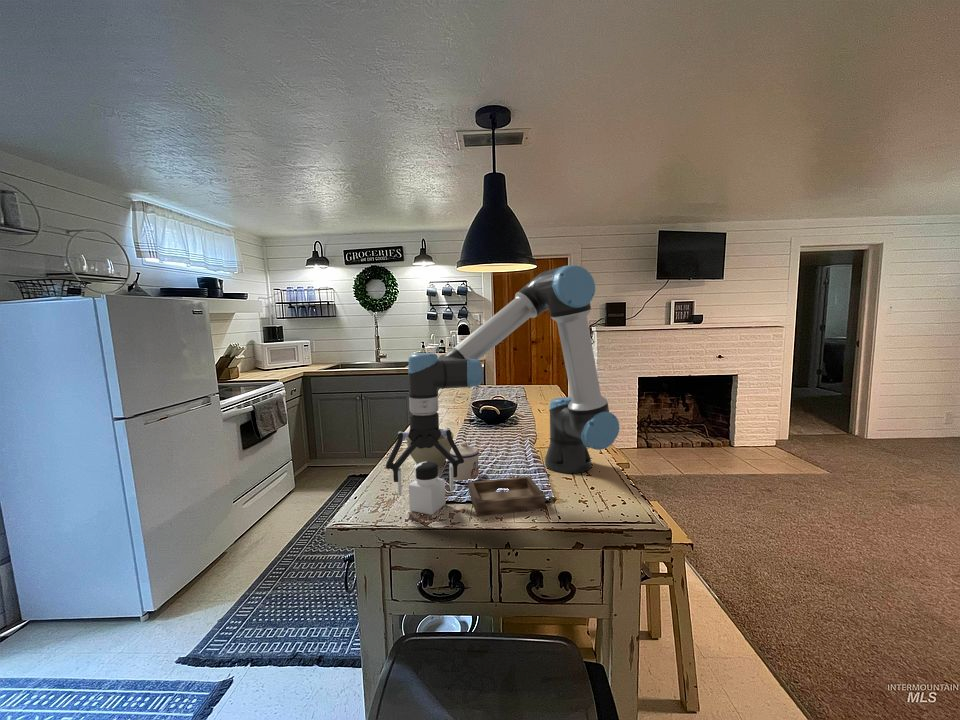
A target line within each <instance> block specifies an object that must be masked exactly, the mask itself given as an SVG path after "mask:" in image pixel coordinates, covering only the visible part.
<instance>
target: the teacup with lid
mask: <svg viewBox="0 0 960 720" xmlns="http://www.w3.org/2000/svg"><path fill="white" fill-rule="evenodd" d="M456 446H457V448H458V450H459V452H460V453H461V455H462V457H463V459H464V463H460V464H458V466H457V477H454V478H453V479H454V480H468V479H473V478H475V477H477V476H478V474H479V450H478V448H477V447H474V446H471V445H470V444H468V443H467V442H466V441H462V442H460V444H459V445H456ZM450 454H451V455H452V456H453V457H454V458H455V459H457V456H456V454H455V453H454V451H453V449H452V448H451V450H450Z"/></svg>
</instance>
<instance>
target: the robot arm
mask: <svg viewBox="0 0 960 720" xmlns="http://www.w3.org/2000/svg"><path fill="white" fill-rule="evenodd" d="M595 294H596V283H595V280H594V277H593V276H592V274H591V272H589V270H587V269H585V267H584V266H583V267H582V266H580V265H575V264H574V265H573V264H572V265H570V264H569V265H563V266H560V267H556V268H553V269H549V270H545V271H542V272H541V273H538V275H536V276H534V278H533V279H531V280H530V281H529V282H527V284H525V285H524V286H523V287H522V288H520V289H519V290H518V291H517V292H516V293H515V295H514V299H512V300H511V301H510V302H508V303H507V304H506V305H504V307H502V308H501V309H499V311H498V312H496V313H495V314H493V316H492V317H490V318H488V319H487V320H486V321H485V322H483V323H482V325H480V326H479V327H478V328H477V329H475V330H474V331H473V332H471V333H470V334H469V335H468V336H467V337H465V338H464V339H463V340H461V341H460V342H459V343H458V344H456V345H455V346H454V347H453V348H452V349H450V350H449V351H448V352H447V353H445V354H442V355H439V356H438V354H437V353H434V352H416V353H411V354H410V355H409V357H408V368H407V369H408V370H407V373H408V374H407V375H408V378H407V379H408V392H409V393H408V405H409V412H410V413H409V432H408V431H407V432H404V431H402V430H399V431H398V432H397V440H396V442H395V443H394V446H393V449H392V450H391V453H390V455H389V457H388V459H387V462H386V466H385V468H386V469H387V470H391V471H393V474H392V475H393V477H392V478H393V481H394V483H397V487H398V492H397V493H398V496H402V493H403V492H402V491H403V490H402V465H403V464H404V463H405V461H406V460H407V459H408V458H409V457H410V456H411V455H410V454H411V452H412V451H413V450H414V449H415V448H416V447H417V448H419V449H422V448H431V447H433V446H435V447H436V448H437V449H438V450H439V451H440V452H441V453H442V454H443V455H444V456H445V457H446V458H447V459H446V460H447V461H448V462H449V463H448V466H449V467H448V468H449V469H448V470H449V472H448V473H449V490H450V492H454V490H455V488H454V485H455V484H454V483H455V482H454V481H453V478H454V477H457V466H458V464H460V463H464V459H463V457H462V455H461V453H460V452H459V450H458V448H457V446H458V445H457V444H456V442H455V441H454V438H453V439H452V435H451V432H452V430H451V429H450V428H449V427H447V428H446V429H445V430H441V431H440V430H439V429H440V416H439V415H440V414H439V413H438V411H439V390H440V389H442V390H444V389H455V388H456V389H457V388H460V389H461V388H468V389H470V388H472V387H480V386H481V384H482V382H483V379H484V369H483V364H482V362H481V361H480V359H481V358H482V357H484V356H485V355H486V354H487V353H489V352H490V351H491V350H492V349H494V348H495V347H496V346H497V345H499V344H500V343H501V342H502V341H503V340H505V339H506V338H507V337H508V336H510V335H511V334H512V333H513V332H514V331H515V330H517V329H518V328H519V327H521V326H522V325H523V324H524V323H526V322H527V321H528V320H529V319H530V318H531V319H535V318H537V317H538V316H539V315H540V314H542V313H544V312H546V311H548V310H549V316H550V318H551V319H552V320H553V321H555V322H556V324H557V329H558V335H559V339H560V344H561V345H560V346H561V350H562V355H563V361H564V366H565V370H566V371H565V372H566V377H567V381H568V386H569V392H570V396H566V397H557V398H553V399H552V398H551V400H550V402H549V410H548V411H549V441H550V442H549V444H548V448H547V451H546V454H545V457H544V463H545V464H544V466H545V467H546V468H547V469H549V470H551V471H554V472H558V473H563V474H577V473H584V472H586V471H589V470H591V468H592V459H591V455H590V453H589V449H592V450H596V451H597V450H598V451H600V450H605V449H607V448H608V447H610V446H611V445H612V444H613V443H614V442H615V440H616V439H617V438H618V435H619V432H620V421H619V419H618V418H617V416H616V415H615V414H614V413H612V412H610V409H609V403H608V399H607V398H606V397H604V396H603V395H602V393H601V388H600V382H599V377H598V371H597V364H596V360H595V359H596V358H595V354H594V350H593V349H594V348H593V343H592V338H591V331H590V327H589V320H588V315H589V314H590V312H591V311H592V306H591V302H592V301H593V298H594V296H595ZM441 435H443V436H444V438H447V439H448V442H449V443H450V445H451V447H452V448H451V449H453V451H454V453H455V454H456V456H457V459H455V458H454V457H453V456H452V455H451V454H450V453H449V452H448V451H447V450H446V449H445V448H444V447H443V446H442V445H441V443H440V442H439V441H438V439H439V438H440V436H441ZM407 437H409V439H410V440H411V441H412V442H411V443H410V444H409V446H407V447H406V449H405V450H404V451H403V452H402V453H401V455H400V456H399V457H398V459H396V458H397V455H398V453H399V450H400V449H401V447H402V444H403V442H405V441H406V438H407ZM588 448H589V449H588ZM395 459H396V461H395Z"/></svg>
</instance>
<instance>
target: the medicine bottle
mask: <svg viewBox="0 0 960 720" xmlns="http://www.w3.org/2000/svg"><path fill="white" fill-rule="evenodd" d="M414 477H415V478H414V480H413V482H411V483H408V502H409V503H408V505H409V508H408V509H409V511H410V512H414V513H415V512H416V513H421V514H425V515H430V516H433V515H434V514H435V513H436V512H438V511H439V510H440V509H441V508H443V507H444V506H445V505H446V502H447V501H446V480H445V478H439V468H438V465H437V464H436V463H434V462H421V463H419V464H417V465H415V466H414Z"/></svg>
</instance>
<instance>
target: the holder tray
mask: <svg viewBox="0 0 960 720" xmlns="http://www.w3.org/2000/svg"><path fill="white" fill-rule="evenodd" d="M498 488H508V489H509V491H508V492H506V491H505V492H504V491H502V492H495V491H496V490H497V489H498ZM469 493H470V496H471V498H470V500H472V501H471V503H472V506H473V509H474V511H475V514H476V517H483V516H493V515H501V514H509V513H519V512H521V513H522V512H527V511H529V512H530V511H536V510H537V511H538V510H546V495H545V494H544V492H543V491H542V490H541V489H540V488H539V486H538V484H536V483H535V481H534V480H533V479H532V478H531V476H518V477H509V478H498V479H486V480H477V481H475V482H469V483H468V494H469ZM470 496H469V497H470Z"/></svg>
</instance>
